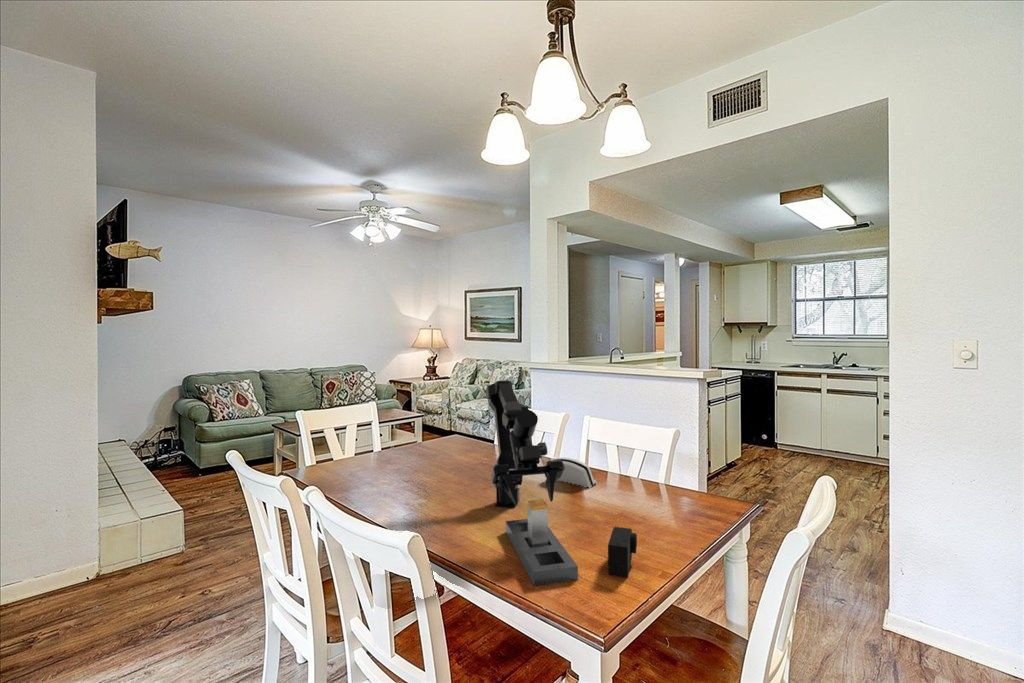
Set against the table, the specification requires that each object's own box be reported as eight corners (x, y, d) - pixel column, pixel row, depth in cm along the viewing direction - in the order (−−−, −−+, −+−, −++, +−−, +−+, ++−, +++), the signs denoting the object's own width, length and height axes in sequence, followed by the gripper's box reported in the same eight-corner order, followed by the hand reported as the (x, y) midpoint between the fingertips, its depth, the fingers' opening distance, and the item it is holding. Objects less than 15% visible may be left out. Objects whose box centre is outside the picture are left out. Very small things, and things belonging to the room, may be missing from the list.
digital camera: (633, 579, 104) (633, 547, 103) (608, 575, 105) (607, 544, 105) (637, 557, 113) (636, 528, 113) (613, 554, 115) (613, 526, 115)
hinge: (597, 484, 167) (592, 460, 164) (590, 492, 163) (585, 467, 161) (558, 475, 178) (553, 452, 175) (551, 482, 174) (545, 459, 172)
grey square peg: (528, 550, 118) (527, 500, 117) (543, 548, 118) (542, 499, 118) (532, 558, 114) (531, 506, 113) (548, 556, 115) (547, 505, 114)
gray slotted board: (505, 532, 129) (505, 521, 128) (541, 528, 131) (540, 517, 131) (534, 586, 101) (533, 572, 101) (578, 579, 104) (577, 566, 103)
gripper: (492, 434, 121) (502, 491, 111) (561, 429, 125) (577, 484, 115) (487, 456, 129) (496, 511, 119) (552, 451, 133) (566, 504, 123)
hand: (534, 502), depth 119 cm, fingers open, 9 cm apart
